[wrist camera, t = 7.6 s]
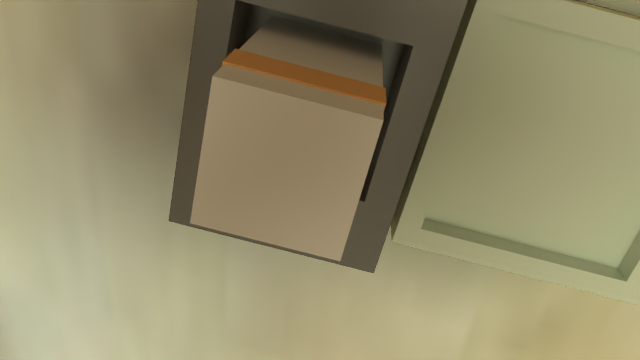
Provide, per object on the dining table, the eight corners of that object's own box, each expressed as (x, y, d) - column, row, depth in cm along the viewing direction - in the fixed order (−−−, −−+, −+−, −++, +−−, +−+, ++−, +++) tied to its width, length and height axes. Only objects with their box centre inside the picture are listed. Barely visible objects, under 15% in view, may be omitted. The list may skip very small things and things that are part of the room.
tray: (756, 48, 17) (791, 61, 16) (620, 278, 21) (637, 304, 20) (475, -27, 17) (484, -21, 16) (390, 219, 21) (391, 242, 20)
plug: (353, 148, 19) (341, 263, 13) (249, 121, 19) (187, 224, 13) (384, 44, 18) (386, 118, 11) (270, 14, 18) (210, 73, 11)
